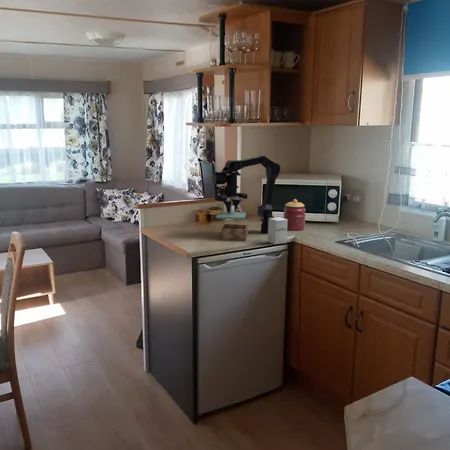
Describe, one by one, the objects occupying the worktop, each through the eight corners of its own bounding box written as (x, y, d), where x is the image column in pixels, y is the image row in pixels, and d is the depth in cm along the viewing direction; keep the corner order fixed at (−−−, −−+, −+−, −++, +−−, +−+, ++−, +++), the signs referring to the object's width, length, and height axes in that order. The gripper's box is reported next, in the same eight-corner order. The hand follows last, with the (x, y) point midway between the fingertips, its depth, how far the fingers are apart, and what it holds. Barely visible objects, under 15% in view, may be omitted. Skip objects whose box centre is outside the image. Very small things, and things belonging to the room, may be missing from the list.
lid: (245, 214, 266) (246, 203, 264) (243, 219, 251) (244, 208, 250) (219, 213, 267) (219, 202, 266) (215, 218, 253) (215, 207, 251)
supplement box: (275, 244, 243) (275, 220, 241) (267, 241, 250) (268, 217, 247) (287, 243, 247) (288, 219, 244) (279, 240, 253) (279, 216, 250)
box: (247, 235, 262) (247, 224, 261) (245, 241, 250) (245, 229, 249) (224, 234, 264) (224, 223, 263) (221, 239, 251) (221, 228, 250)
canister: (305, 226, 287) (306, 197, 283) (304, 231, 275) (306, 201, 271) (283, 225, 289) (284, 197, 286) (282, 230, 277) (283, 200, 273)
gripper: (235, 181, 267) (234, 208, 270) (208, 183, 256) (208, 212, 259) (248, 183, 259) (247, 211, 262) (221, 185, 247) (221, 215, 251)
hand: (231, 212), depth 259 cm, fingers closed on lid, 3 cm apart
